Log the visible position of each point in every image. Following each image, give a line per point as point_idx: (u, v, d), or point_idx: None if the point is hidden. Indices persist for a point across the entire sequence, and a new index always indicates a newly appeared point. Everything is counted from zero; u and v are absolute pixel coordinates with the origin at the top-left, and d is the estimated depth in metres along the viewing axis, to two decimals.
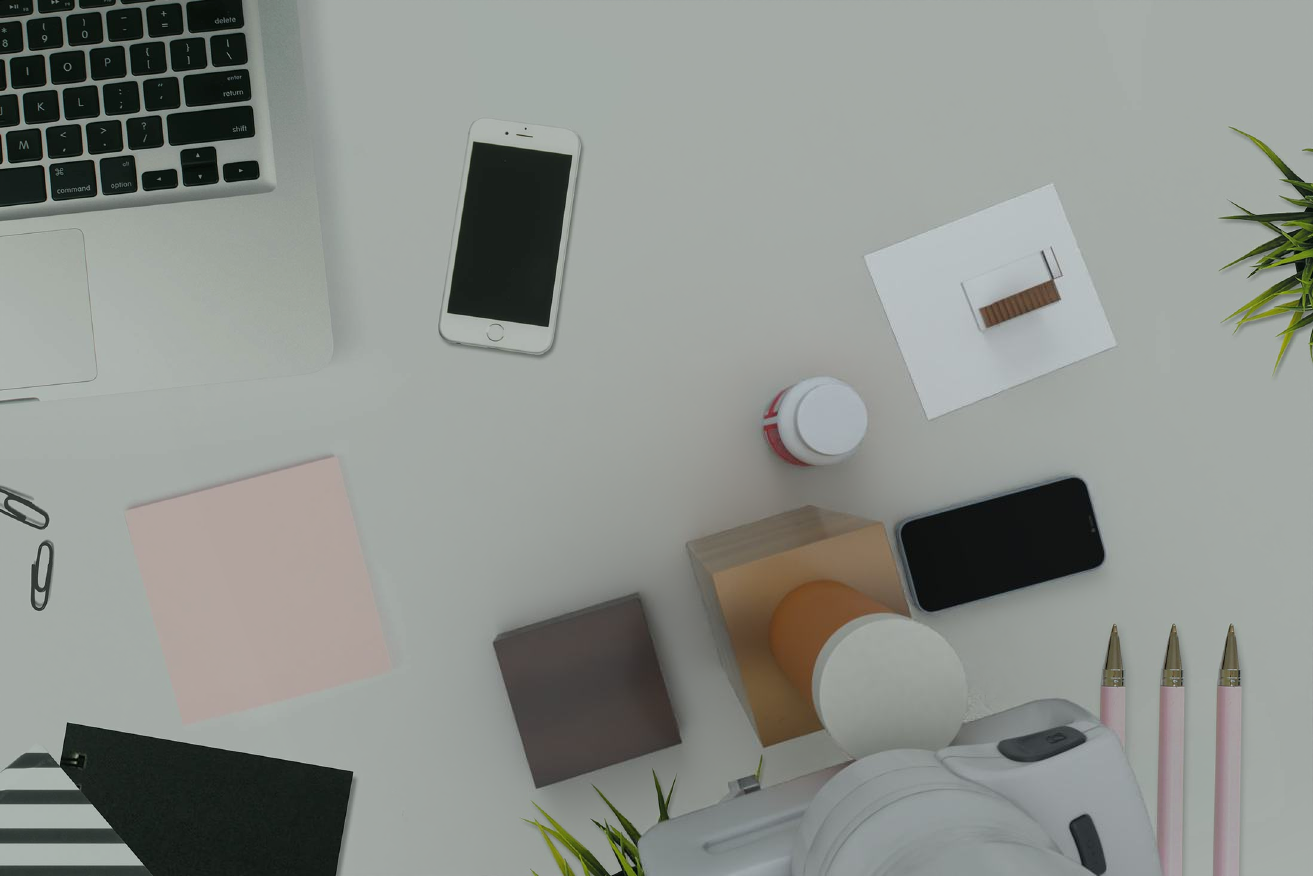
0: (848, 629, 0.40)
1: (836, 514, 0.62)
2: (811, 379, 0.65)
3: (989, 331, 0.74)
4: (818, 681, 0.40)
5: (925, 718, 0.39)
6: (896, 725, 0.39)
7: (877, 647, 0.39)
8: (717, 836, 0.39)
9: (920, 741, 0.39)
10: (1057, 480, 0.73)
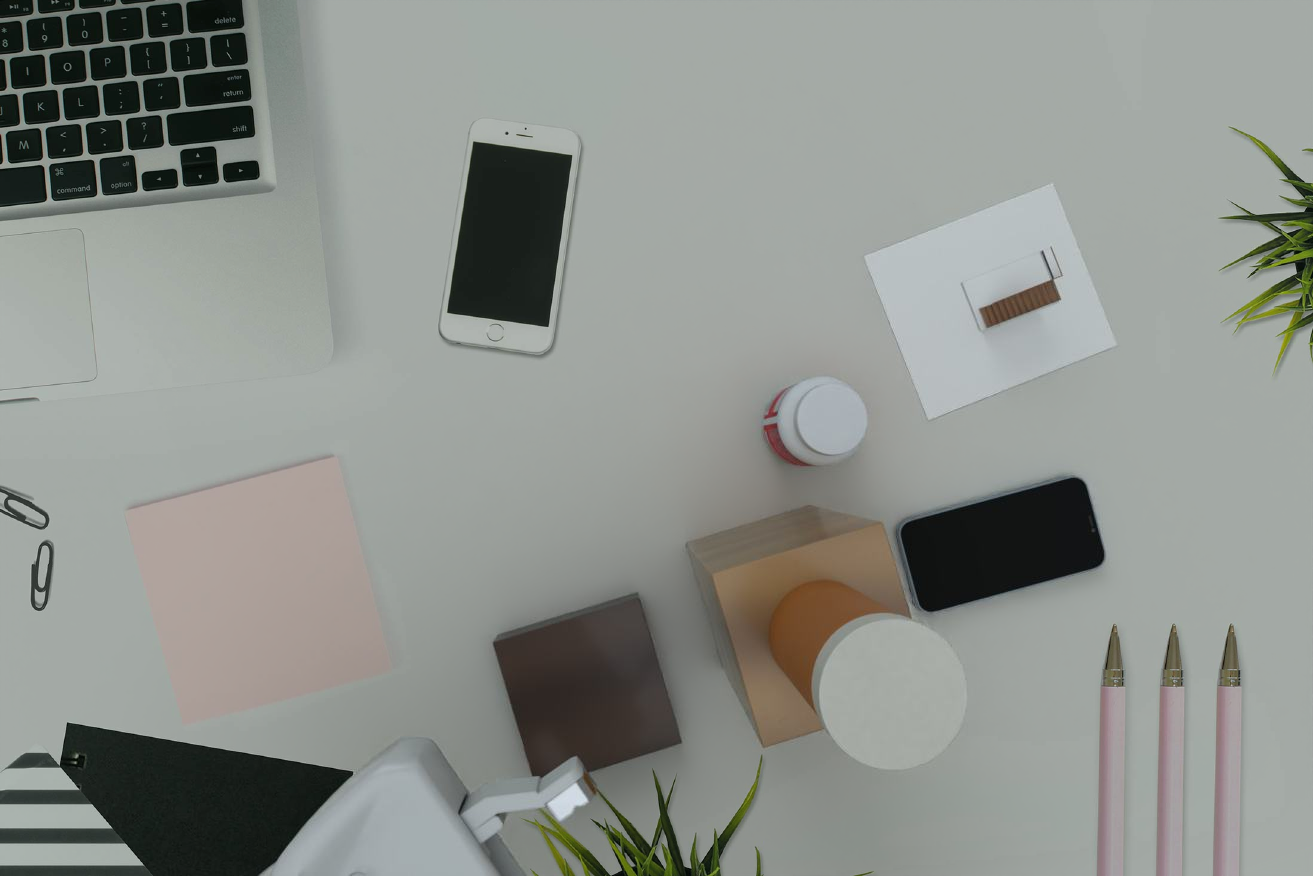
0: (848, 629, 0.40)
1: (836, 514, 0.62)
2: (811, 379, 0.65)
3: (989, 331, 0.74)
4: (818, 681, 0.40)
5: (925, 718, 0.39)
6: (895, 725, 0.39)
7: (877, 647, 0.39)
8: None
9: (919, 741, 0.39)
10: (1057, 480, 0.73)
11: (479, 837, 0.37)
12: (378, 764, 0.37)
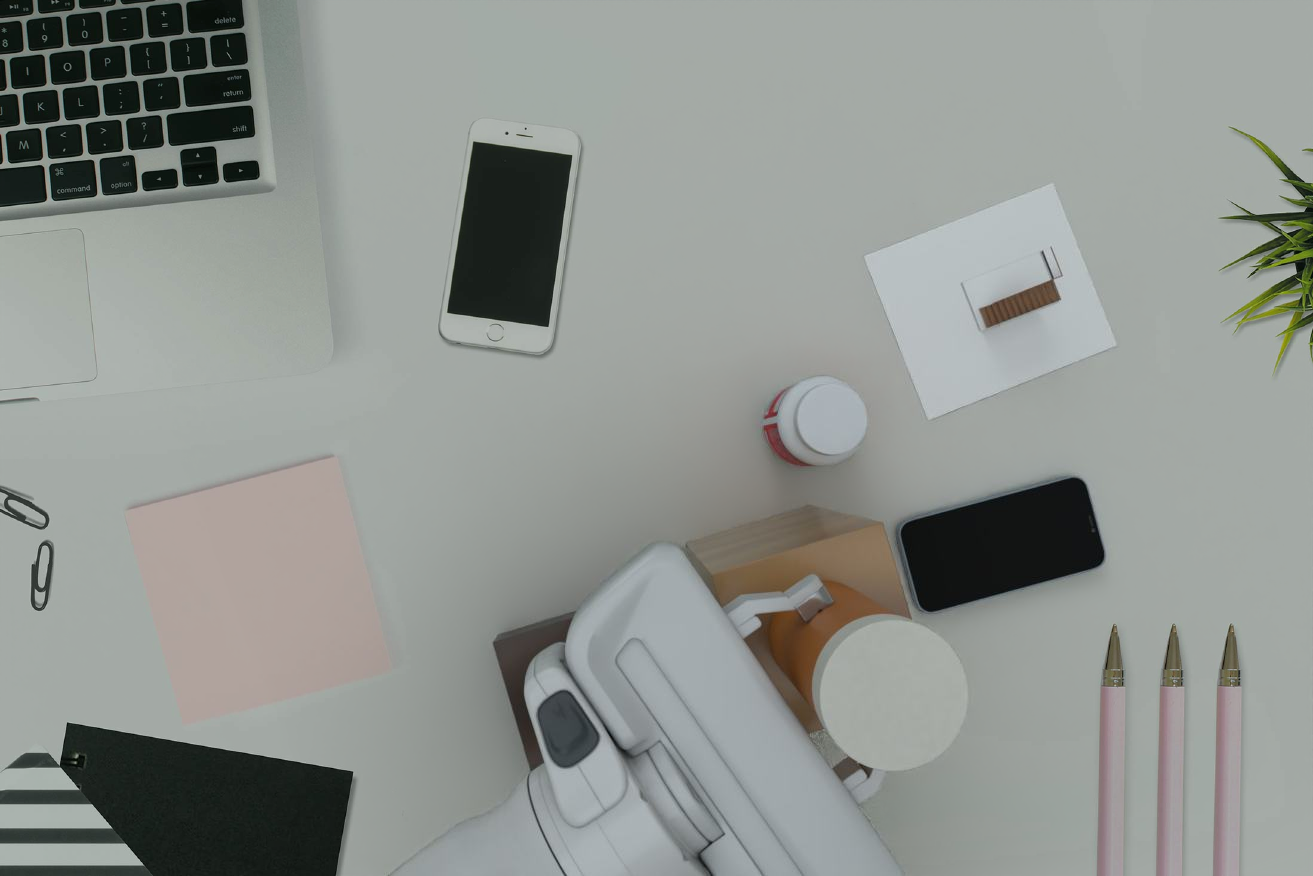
0: (848, 630, 0.40)
1: (836, 514, 0.62)
2: (811, 379, 0.65)
3: (989, 331, 0.74)
4: (818, 682, 0.40)
5: (925, 719, 0.39)
6: (896, 726, 0.39)
7: (877, 648, 0.39)
8: None
9: (920, 742, 0.39)
10: (1057, 480, 0.73)
11: (742, 633, 0.45)
12: (649, 551, 0.45)
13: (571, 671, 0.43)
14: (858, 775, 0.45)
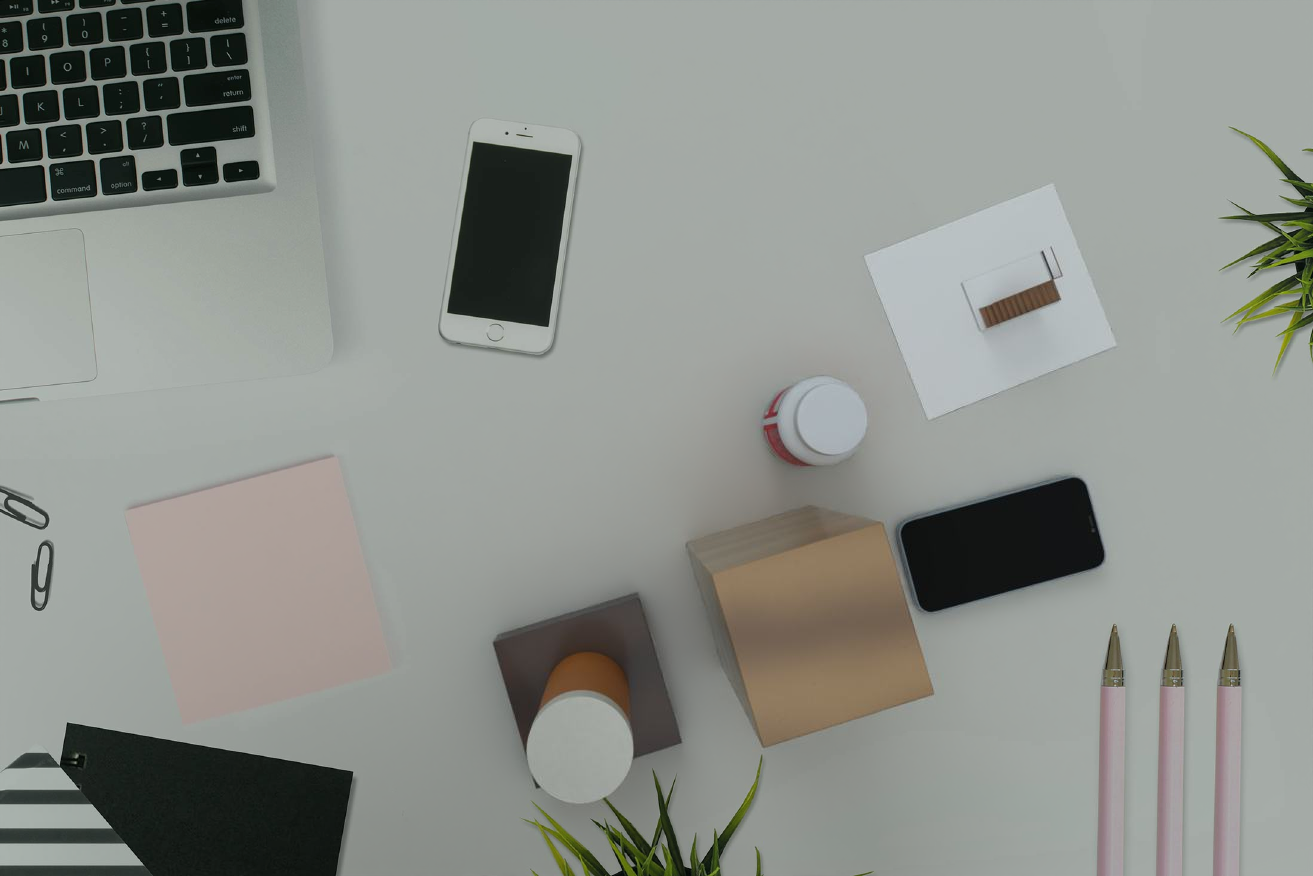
0: (551, 703, 0.56)
1: (836, 514, 0.62)
2: (811, 379, 0.65)
3: (989, 331, 0.74)
4: None
5: (602, 767, 0.56)
6: (581, 771, 0.56)
7: (568, 716, 0.56)
8: None
9: (598, 783, 0.56)
10: (1057, 480, 0.73)
11: None
12: None
13: None
14: None
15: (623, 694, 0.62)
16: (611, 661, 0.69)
